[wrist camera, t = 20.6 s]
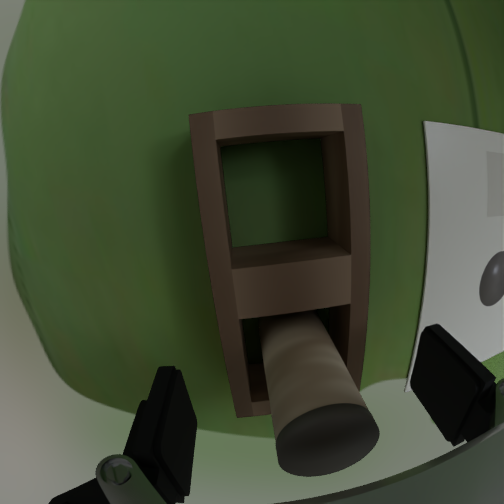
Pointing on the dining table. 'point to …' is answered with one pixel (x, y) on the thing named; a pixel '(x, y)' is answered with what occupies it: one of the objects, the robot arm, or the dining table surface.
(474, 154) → the card
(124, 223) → the dining table surface
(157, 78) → the dining table surface
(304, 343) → the peg
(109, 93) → the dining table surface
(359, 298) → the brown wooden frame
